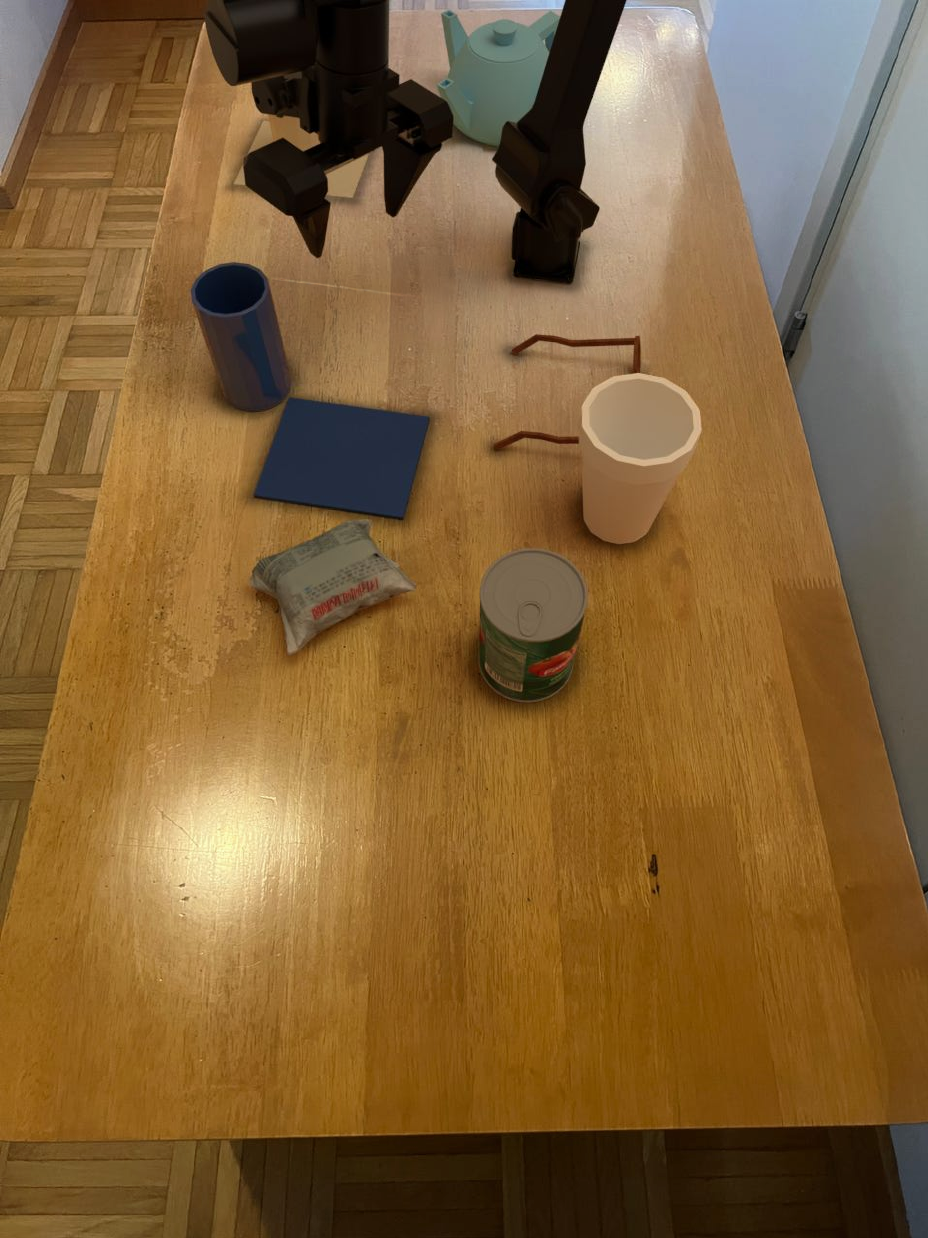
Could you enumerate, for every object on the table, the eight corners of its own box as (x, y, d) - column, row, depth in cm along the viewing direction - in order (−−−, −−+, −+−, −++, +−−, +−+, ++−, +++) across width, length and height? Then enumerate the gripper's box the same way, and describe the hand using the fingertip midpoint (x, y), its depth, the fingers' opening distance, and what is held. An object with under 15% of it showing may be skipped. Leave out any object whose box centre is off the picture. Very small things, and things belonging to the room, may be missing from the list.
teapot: (567, 158, 109) (576, 66, 99) (438, 157, 109) (436, 65, 100) (563, 81, 116) (571, -12, 107) (442, 80, 116) (440, -13, 107)
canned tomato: (485, 612, 79) (488, 540, 70) (578, 625, 79) (593, 554, 69) (471, 696, 75) (471, 632, 66) (567, 710, 75) (582, 648, 65)
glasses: (631, 467, 87) (640, 432, 82) (493, 450, 88) (494, 415, 83) (640, 364, 93) (649, 326, 89) (511, 349, 94) (513, 311, 90)
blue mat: (429, 419, 90) (429, 416, 89) (403, 519, 84) (403, 517, 84) (289, 399, 91) (288, 396, 91) (254, 497, 85) (253, 494, 85)
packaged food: (417, 603, 80) (414, 572, 75) (292, 666, 77) (281, 637, 73) (371, 531, 83) (365, 498, 79) (249, 589, 81) (237, 557, 76)
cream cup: (341, 142, 110) (329, 47, 100) (327, 179, 107) (313, 84, 97) (286, 136, 110) (268, 41, 101) (270, 172, 107) (250, 77, 98)
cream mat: (376, 135, 111) (376, 132, 111) (352, 200, 105) (352, 197, 105) (263, 123, 112) (263, 120, 112) (234, 186, 107) (233, 183, 106)
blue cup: (299, 364, 93) (278, 267, 83) (280, 416, 90) (256, 321, 79) (234, 356, 94) (204, 257, 83) (213, 406, 91) (180, 311, 80)
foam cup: (678, 486, 86) (710, 387, 74) (661, 568, 81) (692, 476, 70) (577, 464, 87) (593, 363, 76) (555, 544, 83) (569, 450, 71)
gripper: (368, -22, 78) (369, 155, 91) (185, 48, 69) (214, 232, 83) (464, 34, 74) (450, 210, 87) (283, 115, 66) (297, 296, 79)
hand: (354, 234), depth 84 cm, fingers open, 9 cm apart
